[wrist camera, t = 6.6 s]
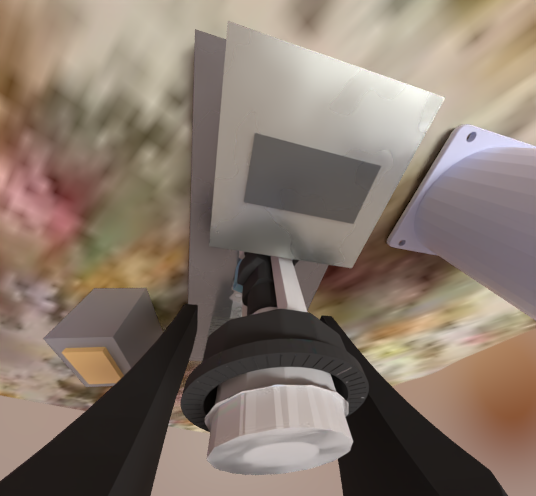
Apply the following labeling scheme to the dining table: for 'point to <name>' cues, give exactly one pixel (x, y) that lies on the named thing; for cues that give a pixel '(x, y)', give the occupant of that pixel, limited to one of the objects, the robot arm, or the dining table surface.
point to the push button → (273, 379)
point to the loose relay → (106, 334)
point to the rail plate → (289, 161)
